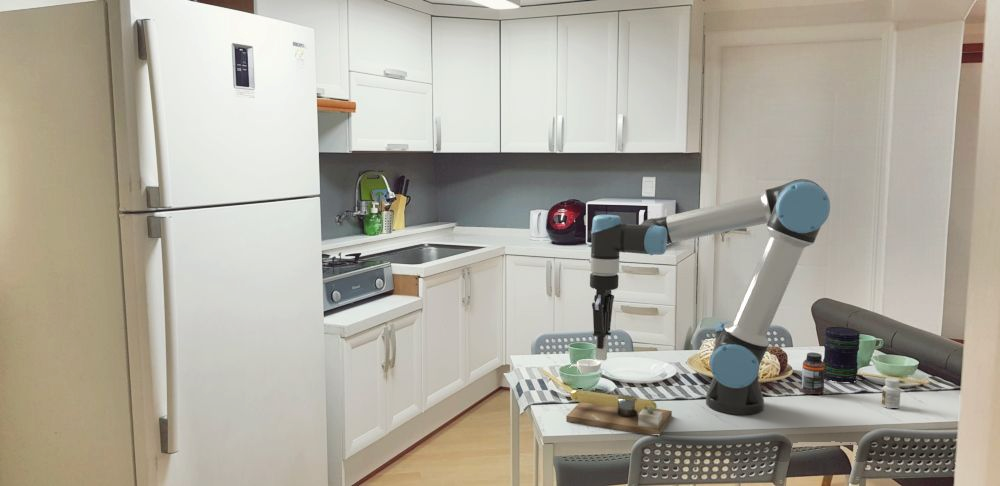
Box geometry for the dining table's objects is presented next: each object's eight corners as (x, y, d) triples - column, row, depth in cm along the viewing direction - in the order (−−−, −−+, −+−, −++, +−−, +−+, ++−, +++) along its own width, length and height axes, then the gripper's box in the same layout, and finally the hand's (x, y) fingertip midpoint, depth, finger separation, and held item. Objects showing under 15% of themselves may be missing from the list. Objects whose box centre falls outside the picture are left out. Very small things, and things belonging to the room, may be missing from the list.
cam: (658, 414, 200) (658, 398, 199) (653, 421, 195) (654, 404, 195) (573, 401, 209) (573, 386, 208) (567, 407, 205) (567, 391, 204)
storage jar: (831, 371, 243) (834, 325, 241) (862, 379, 235) (866, 331, 233) (815, 377, 237) (818, 330, 235) (847, 385, 229) (850, 336, 227)
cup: (600, 393, 221) (600, 366, 220) (565, 391, 223) (565, 364, 221) (600, 385, 228) (601, 359, 227) (566, 384, 229) (567, 357, 228)
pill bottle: (882, 402, 215) (884, 375, 214) (899, 405, 213) (902, 378, 212) (880, 407, 211) (882, 380, 210) (898, 410, 209) (900, 383, 208)
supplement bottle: (811, 387, 227) (814, 350, 226) (828, 393, 222) (830, 355, 220) (796, 390, 225) (798, 352, 223) (812, 396, 220) (815, 358, 218)
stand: (671, 416, 204) (672, 394, 203) (659, 436, 190) (659, 412, 189) (584, 403, 213) (584, 381, 212) (566, 421, 200) (566, 398, 199)
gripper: (597, 268, 213) (594, 351, 216) (583, 275, 201) (580, 363, 205) (624, 270, 210) (621, 354, 213) (611, 278, 198) (607, 367, 202)
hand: (601, 359), depth 209 cm, fingers closed
